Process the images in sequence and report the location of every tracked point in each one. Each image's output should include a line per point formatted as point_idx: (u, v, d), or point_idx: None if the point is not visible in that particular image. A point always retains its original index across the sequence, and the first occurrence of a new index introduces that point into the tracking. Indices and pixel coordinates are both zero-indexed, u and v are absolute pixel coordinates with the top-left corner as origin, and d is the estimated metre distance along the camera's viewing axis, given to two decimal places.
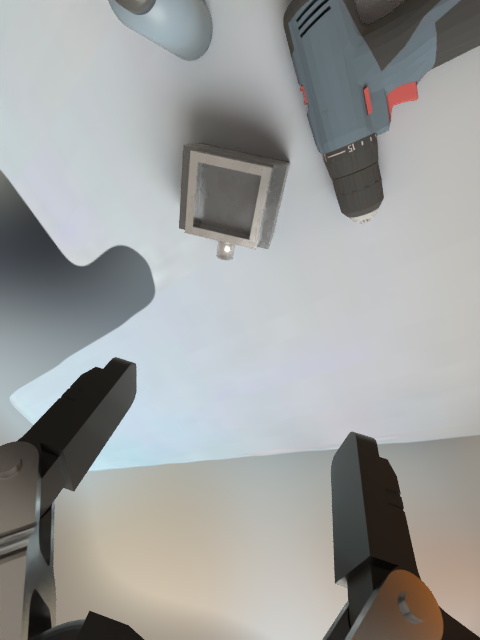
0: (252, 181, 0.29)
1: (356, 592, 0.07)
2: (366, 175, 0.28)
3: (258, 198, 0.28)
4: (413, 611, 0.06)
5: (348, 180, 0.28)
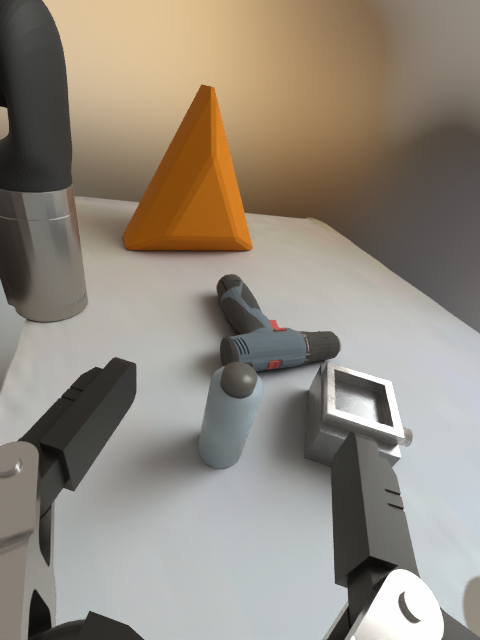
0: (336, 385, 0.35)
1: (356, 592, 0.07)
2: (316, 333, 0.44)
3: (350, 373, 0.35)
4: (413, 611, 0.06)
5: (321, 340, 0.43)
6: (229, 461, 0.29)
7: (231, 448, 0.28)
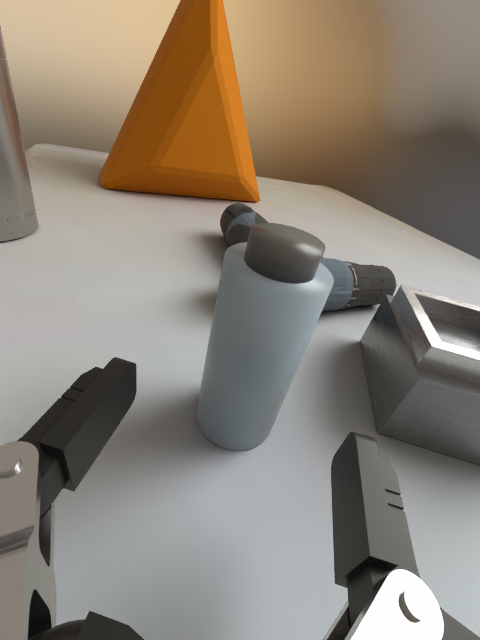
0: None
1: (356, 592, 0.07)
2: (363, 265, 0.31)
3: (440, 299, 0.22)
4: (413, 611, 0.06)
5: (371, 272, 0.30)
6: (255, 436, 0.16)
7: (262, 406, 0.14)
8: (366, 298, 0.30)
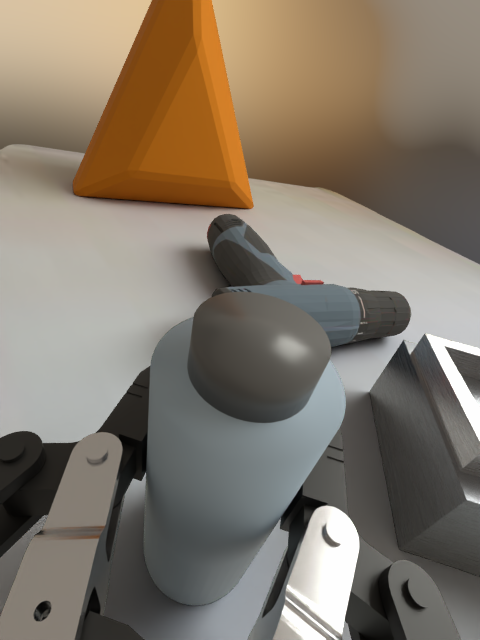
0: None
1: (293, 531, 0.08)
2: (371, 291, 0.26)
3: (478, 354, 0.17)
4: (332, 536, 0.07)
5: (382, 301, 0.25)
6: (223, 590, 0.11)
7: (229, 570, 0.09)
8: (375, 332, 0.25)
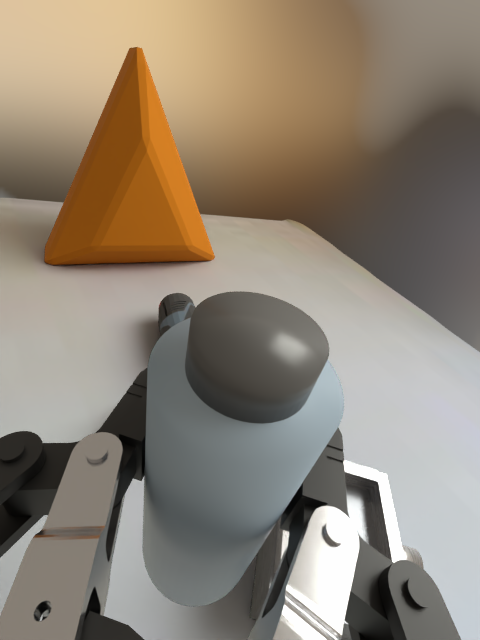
0: None
1: (293, 531, 0.08)
2: None
3: None
4: (332, 536, 0.07)
5: None
6: (222, 591, 0.11)
7: (228, 571, 0.09)
8: None
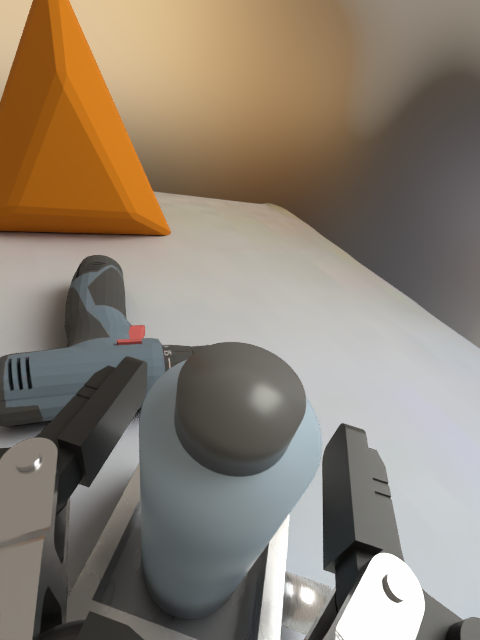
0: None
1: (342, 577, 0.08)
2: (198, 348, 0.26)
3: None
4: (395, 591, 0.06)
5: None
6: (215, 606, 0.11)
7: (219, 592, 0.10)
8: None
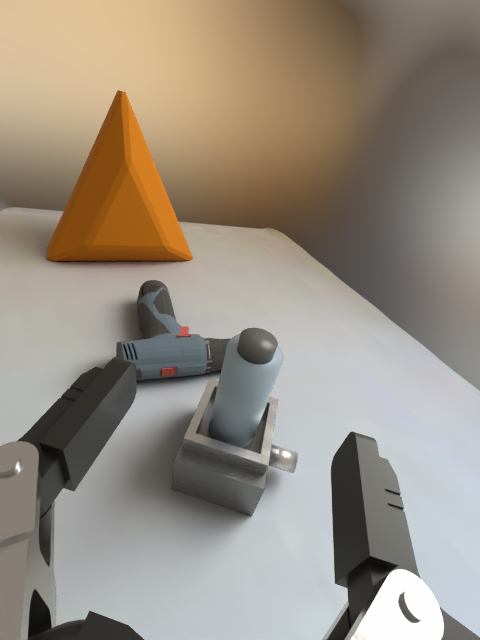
0: None
1: (356, 592, 0.07)
2: (224, 340, 0.42)
3: None
4: (413, 611, 0.06)
5: (226, 347, 0.41)
6: (244, 440, 0.27)
7: (247, 423, 0.26)
8: None
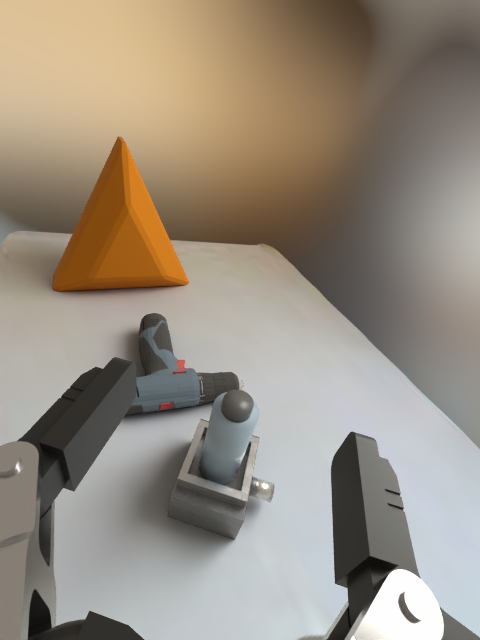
0: None
1: (356, 592, 0.07)
2: (216, 374, 0.48)
3: None
4: (413, 611, 0.06)
5: (217, 382, 0.46)
6: (228, 477, 0.33)
7: (231, 465, 0.31)
8: (214, 398, 0.46)
